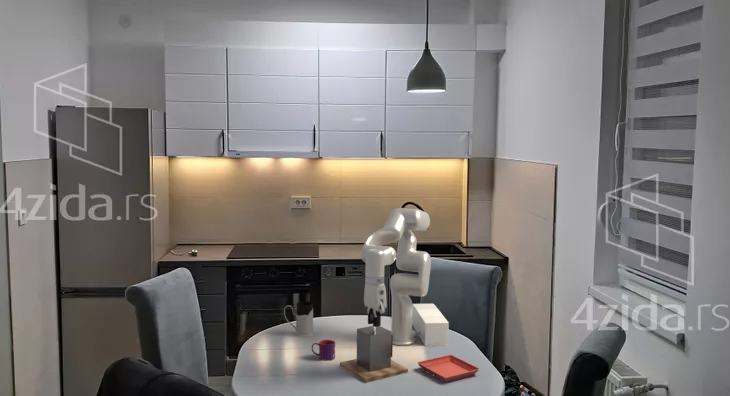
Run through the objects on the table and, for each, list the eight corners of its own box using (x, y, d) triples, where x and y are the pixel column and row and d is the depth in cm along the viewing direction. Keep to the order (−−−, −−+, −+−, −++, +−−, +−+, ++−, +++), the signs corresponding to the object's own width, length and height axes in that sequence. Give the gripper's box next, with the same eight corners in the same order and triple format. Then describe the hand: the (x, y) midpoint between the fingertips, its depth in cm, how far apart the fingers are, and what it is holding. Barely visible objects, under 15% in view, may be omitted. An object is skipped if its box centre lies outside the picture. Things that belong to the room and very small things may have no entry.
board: (380, 357, 267) (380, 353, 267) (408, 372, 250) (408, 368, 250) (339, 366, 256) (339, 362, 256) (366, 382, 240) (366, 378, 239)
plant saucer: (480, 376, 248) (480, 368, 248) (444, 385, 239) (445, 377, 239) (450, 361, 264) (450, 354, 263) (416, 370, 254) (416, 362, 254)
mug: (333, 361, 262) (333, 345, 261) (310, 359, 263) (310, 343, 263) (336, 355, 268) (336, 340, 268) (313, 354, 270) (313, 338, 269)
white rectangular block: (448, 345, 283) (448, 322, 282) (425, 346, 282) (425, 323, 281) (433, 324, 315) (433, 303, 314) (412, 324, 314) (412, 303, 313)
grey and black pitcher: (312, 337, 292) (313, 306, 290) (282, 336, 292) (282, 305, 290) (314, 331, 300) (314, 301, 299) (285, 331, 301) (285, 300, 299)
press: (383, 358, 262) (384, 323, 260) (397, 365, 254) (398, 330, 252) (356, 364, 255) (356, 328, 253) (369, 372, 246) (370, 335, 245)
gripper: (394, 283, 245) (393, 329, 247) (371, 275, 258) (370, 318, 260) (378, 285, 241) (377, 332, 243) (355, 277, 254) (355, 321, 256)
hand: (374, 324), depth 251 cm, fingers closed on plunger, 3 cm apart
